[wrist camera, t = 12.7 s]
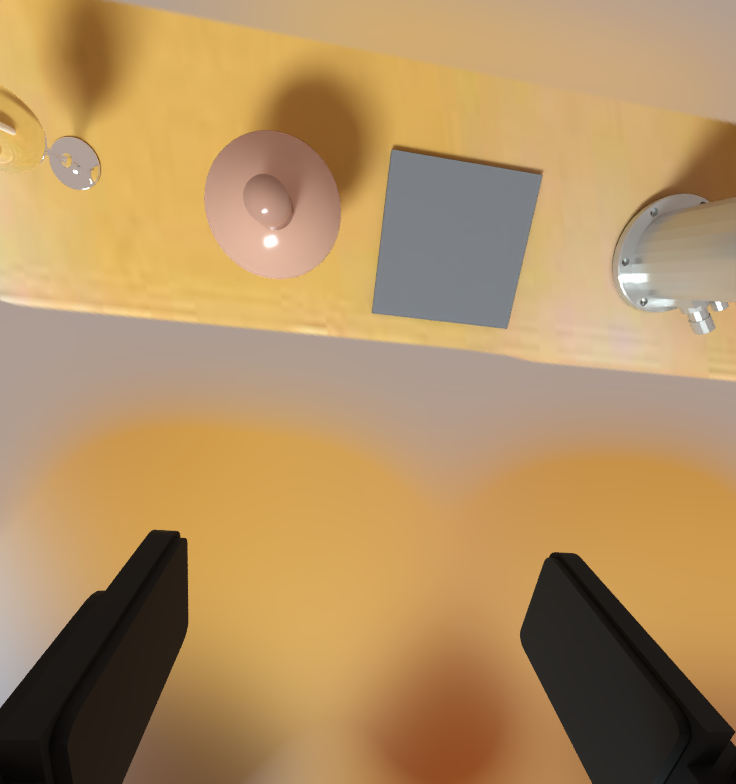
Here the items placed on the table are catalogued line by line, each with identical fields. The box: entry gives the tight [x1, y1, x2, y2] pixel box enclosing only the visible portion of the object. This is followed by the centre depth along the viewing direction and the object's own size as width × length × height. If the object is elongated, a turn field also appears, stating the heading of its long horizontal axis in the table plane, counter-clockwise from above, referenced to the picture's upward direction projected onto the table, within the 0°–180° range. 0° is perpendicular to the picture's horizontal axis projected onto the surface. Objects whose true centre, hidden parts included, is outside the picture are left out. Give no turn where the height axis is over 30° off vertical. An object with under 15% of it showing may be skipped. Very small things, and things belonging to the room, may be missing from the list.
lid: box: [204, 130, 341, 279], centre depth 28 cm, size 11×11×4 cm
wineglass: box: [0, 84, 100, 190], centre depth 28 cm, size 6×6×12 cm
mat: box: [372, 149, 542, 329], centre depth 38 cm, size 16×16×1 cm
